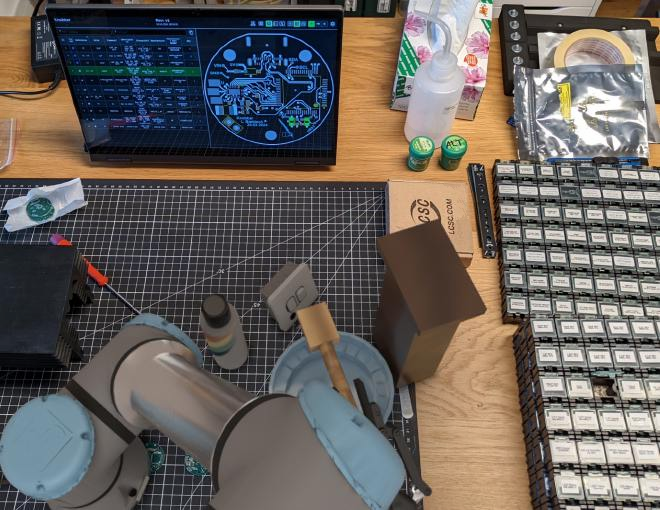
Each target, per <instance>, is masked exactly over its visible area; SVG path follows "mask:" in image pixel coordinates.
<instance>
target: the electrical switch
mask: <svg viewBox="0 0 660 510" xmlns="http://www.w3.org/2000/svg"><path fill="white" fill-rule="evenodd" d="M258 291H259V295H260V297H261V299H262V301H263V303H264V305H265V307H266V308H267V310H268V313H269V315H270V316H271V318H272V319H274V320H275V321H276V322H277V323H278V327H279V328H280V330H281V331H284V332H287V331H288V330H289V329H290V328H291V327H292V326H293V325H294V324H295V323H296V321H298V318H297V311H298V310H301V309H304V308H307V307H310V306H312V305H313V303H314V302H315V301H316V299H318V297H319V294H320V293H319V290H318V288H317V285H316V283H315V280H314V278H313V275H312V272H311V270H310V267H309V265H308V264H307V263H305V262H303V261H302V262H301V263H300V264H297V263H294V262H293V261H291V260H288V261H287V262H285V264H284V265H283V266H282V267H281V268H280V269H279V270H278V271H277V272H276V273H275V275H273V277H272V278H271V279H270V280H269V281H267V283H266V284H265V285H264V286H263V287H262V288H261V289H260V290H258Z"/></svg>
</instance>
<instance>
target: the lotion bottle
mask: <svg viewBox="0 0 660 510" xmlns="http://www.w3.org/2000/svg"><path fill="white" fill-rule="evenodd" d="M200 311H201V313H200V315H199V325H200V328H201V331H202V333H203V335H204V337H205V340H206V343H207V345H208V347H209V349H210V352H211V354H212V356H213V358H214V360H215V362H216V363H217V364H218V366H219V367H221V368H222V369H224V370H236V369H238V368H240V367H242V366H243V365H244V364H245V363H246V362H247V359H248V355H249V347H248V344H247V341H246V338H245V334H244V329H243V326H242V323H241V319H240V316H239V313H238V311H237V309H236V308H235V306H234V305H233V304H231V303H230V302H228V299H227V298H226V296H225V295H223V294H221V293H219V292H214V293H210V294H208V295H207V296H206V297H204V298H203V299H202V301H201V304H200Z"/></svg>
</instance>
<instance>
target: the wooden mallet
mask: <svg viewBox="0 0 660 510" xmlns="http://www.w3.org/2000/svg"><path fill="white" fill-rule="evenodd" d="M297 318H298V319H297V321H298V323H299V325H300V328H301V331H302V333H303V337H304V336H305V339H306V342H307V344H308V347H309V350H310V352H311V353H312V352H315V351H318V350H320V353H321V355H322V358H323V361H324V363H325V366H326V368H327V371H328V374H329V376H330V379H331V381H332V384H333V387H334V386H335V387H336V388H337V389H338V391H339V394H341V395H342V396H343V397H344V398H346V399H347V400H348V401H349V402H350V403H351V404H352V405H354V406H355V407H356V408H357V409H358V407H357V404H356V402H355V399H354V397H353V394H352V392H351V389H350V387H349V384H348V382H347V379H346V377H345V374H344V372H343V369H342V367H341V364H340V362H339V359H338V357H337V354H336V352H335V349H334V347H333V345H335V344H338V343H340V336H339V334H338V332H337V331H338V330H337V326H336V324H335V321H334V319H333V317H332V315H331V312H330V310H329V307H328V304H327V303H326V301H322V302H319V303H316V304H314V305H313V304H312V305H310V306H309V307H307V308H304V309H301V310H298V311H297ZM358 410H359V409H358Z"/></svg>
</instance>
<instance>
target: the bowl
mask: <svg viewBox="0 0 660 510" xmlns="http://www.w3.org/2000/svg"><path fill="white" fill-rule="evenodd" d="M337 332H338V334H339V336H340V343H338V344H335V345H333V347H334V349H335V352H336V354H337V357H338V359H339V362H340V364H341V367H342V369H343V372H344V374H345V377H346V379H347V382H348V384H349V387H350V389H351V392H352V394H353V397H354V399H355V402H356V404H357V407H358V409H359V411H360V412H361V413H362V414H363V411H362V408H361V405H360V401H359V398H358V395H357V392H356V388H355V385H354V382H353V380H354V379H357V378H359V379H360V380H361V381H363V383H364V386H365V390H366V393H367V396H368V399H369V403H370V402H373V401H374V402H375V403H377V405H378V406H379V408H380V411H381V414H382V418H383V421H384V424H385V425H387V423H388V420H389V418H390V415H391V413H392V410H393V408H394V407H393V405H394V400H395V399H394V398H395V387H394V385H393V378H392V374H391V372H390V369H389V367H388V365H387V362H386V361H385V359H384V358H383V357H382V355H381V354H380V352H379V350H378V348H377V347H375V346H374V345H372V344H371V343H370V342H369V341H367V340H366V339H365V338H362V337H360V336H358V335H356V334H354V333H351V332H347V331H343V330H342V331H341V330H337ZM313 380H318V381H321V382H323V383H325V384H327V385H328V386H330V387H331V388H332V387H333V384H332V381H331V379H330V376H329V374H328V371H327V368H326V366H325V363H324V361H323V358H322V355H321V353H320V350H318V351H315V352H312V353H311V352H310V350H309V347H308V344H307V342H306V339H305V336H304V335H303V336H301V337H300V338H299V339H296V340H295V341H293V342H292V343H291V344H290V345H288V346H287V347H286V349H285V350H283V352H282V353H281V354H280V355H279V356H278V359H277V360H276V361H275V363H274V366H273V368H272V370H271V374H270V378H269V382H268V394H269V393H285V394H289V395H292V396H295V397H296V396H297V393H298V391H299V389H300V388H302V387H305V386H306V385H307V384H308V383H309V382H310V381H313ZM363 415H364V414H363Z"/></svg>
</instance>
